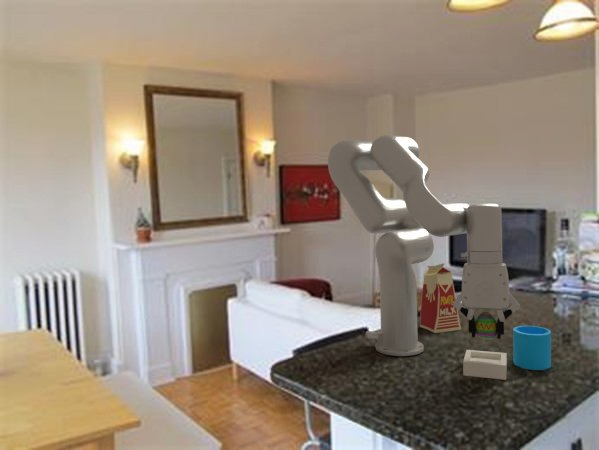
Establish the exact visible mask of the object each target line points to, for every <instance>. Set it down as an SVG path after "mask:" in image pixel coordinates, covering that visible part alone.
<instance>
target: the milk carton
mask: <svg viewBox="0 0 599 450" xmlns="http://www.w3.org/2000/svg"><path fill="white" fill-rule="evenodd" d="M444 266H445V263H440V264H437V265H427V266H426V267H427V268H428V269H427V271H426V272H425V274H424V276H423V282H422V283H423V284H422V290H421V302H420V317H419V327H420V328H422V329H425V330H428V331H430V332H432V333H434V334H438V333H445V332H447V333H448V332H453V331H459V330H460V331H461V330H462V328H461V327H462V326H461V322H460V321H461V320H460V316H459V310H458V309H457V308H455V307H454V306H453V302H454V301H455V299H456V298H457V297H456V293H455V292H456V291H455V286H454V280H453V274H452V271H451V270H448V269H447V268H445V267H444Z"/></svg>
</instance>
